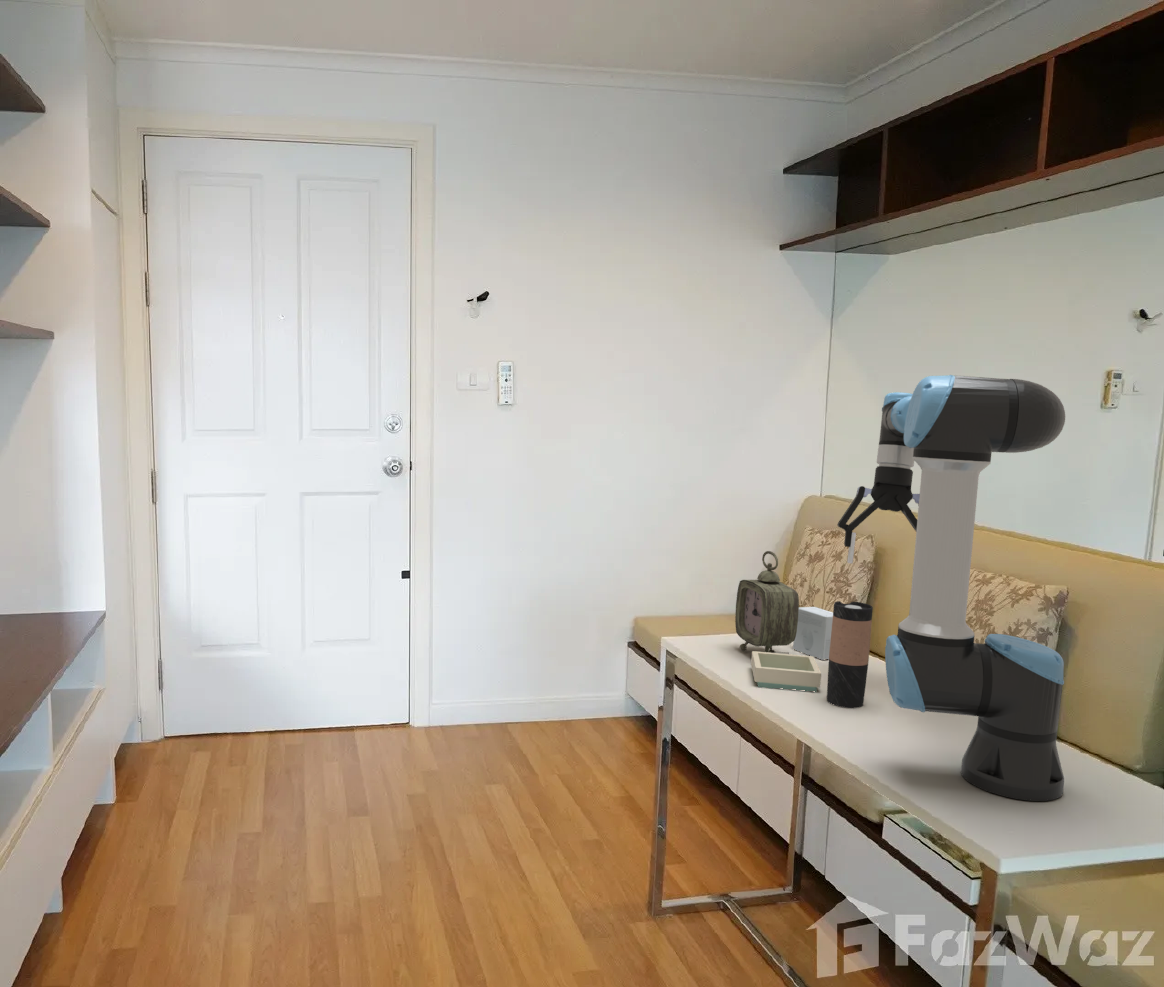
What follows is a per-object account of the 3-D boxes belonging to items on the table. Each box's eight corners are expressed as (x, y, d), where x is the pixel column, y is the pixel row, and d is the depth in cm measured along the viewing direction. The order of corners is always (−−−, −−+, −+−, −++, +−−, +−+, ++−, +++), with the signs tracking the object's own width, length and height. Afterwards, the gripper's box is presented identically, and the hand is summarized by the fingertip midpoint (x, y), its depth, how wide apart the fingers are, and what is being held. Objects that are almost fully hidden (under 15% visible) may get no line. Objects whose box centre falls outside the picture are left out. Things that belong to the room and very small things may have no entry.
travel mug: (856, 711, 184) (865, 611, 182) (819, 702, 189) (827, 604, 187) (870, 702, 190) (879, 605, 188) (834, 693, 195) (842, 598, 193)
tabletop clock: (732, 648, 226) (740, 546, 224) (766, 647, 229) (774, 546, 227) (761, 666, 213) (770, 557, 210) (796, 664, 215) (805, 557, 213)
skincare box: (842, 658, 223) (846, 615, 222) (822, 661, 220) (825, 617, 219) (811, 647, 232) (815, 605, 231) (791, 649, 229) (795, 607, 228)
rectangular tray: (819, 692, 195) (821, 674, 195) (754, 686, 197) (755, 668, 196) (809, 668, 213) (811, 651, 212) (749, 663, 214) (751, 646, 214)
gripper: (951, 474, 200) (940, 573, 200) (832, 461, 204) (820, 558, 204) (960, 472, 193) (948, 575, 193) (836, 459, 196) (824, 560, 196)
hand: (882, 567), depth 198 cm, fingers open, 13 cm apart
